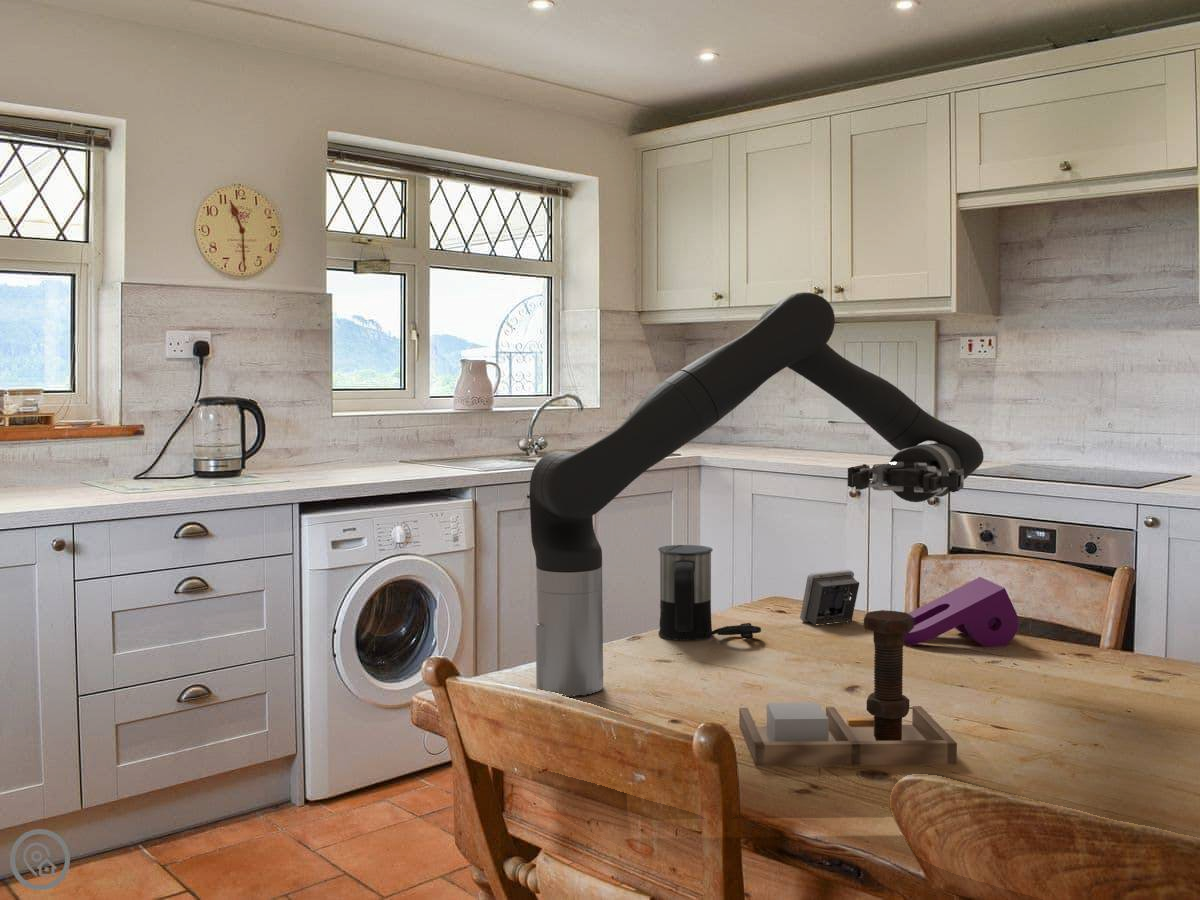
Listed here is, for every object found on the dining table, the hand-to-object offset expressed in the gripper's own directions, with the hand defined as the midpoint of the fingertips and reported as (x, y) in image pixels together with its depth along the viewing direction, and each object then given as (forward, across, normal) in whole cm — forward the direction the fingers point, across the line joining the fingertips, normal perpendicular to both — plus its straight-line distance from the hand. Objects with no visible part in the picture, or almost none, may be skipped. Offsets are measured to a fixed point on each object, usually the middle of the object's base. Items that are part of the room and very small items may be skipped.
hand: (891, 482), depth 134 cm
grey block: (+19, -6, +29) cm, 35 cm away
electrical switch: (-47, -22, +30) cm, 60 cm away
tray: (+16, -1, +30) cm, 34 cm away
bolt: (+13, +3, +29) cm, 32 cm away
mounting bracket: (-44, -2, +30) cm, 53 cm away
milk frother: (-27, -37, +30) cm, 55 cm away
